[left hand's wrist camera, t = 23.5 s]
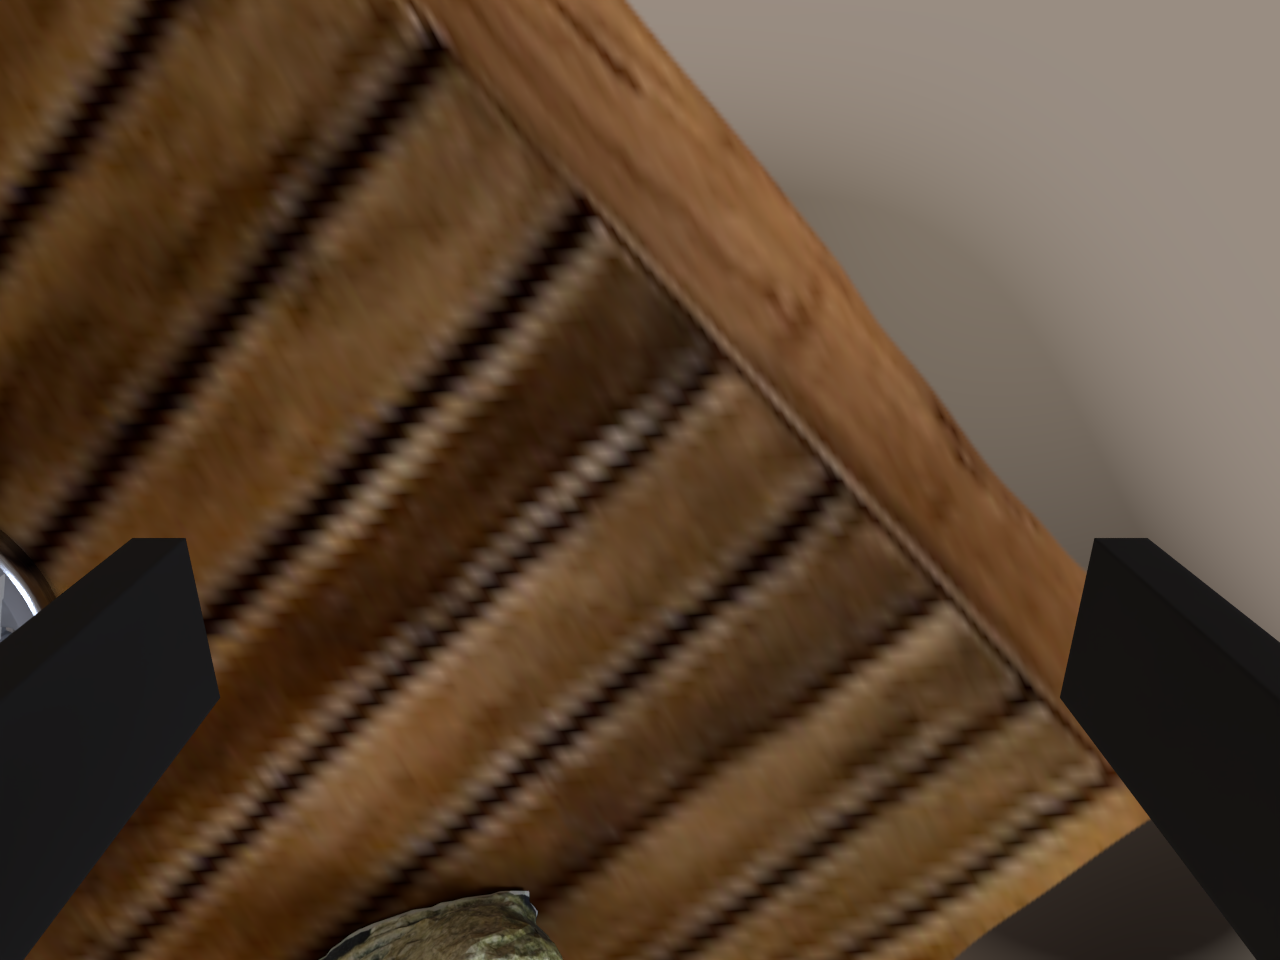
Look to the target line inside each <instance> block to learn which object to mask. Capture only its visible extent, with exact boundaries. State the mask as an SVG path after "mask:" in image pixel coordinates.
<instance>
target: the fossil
mask: <svg viewBox="0 0 1280 960" xmlns="http://www.w3.org/2000/svg"><path fill="white" fill-rule="evenodd" d="M537 912H538V911H537V910H536V909H535V907H534V906H533V905H532V904H531V903H530V902H529V891H500V892H496V893H493V894H489V895H481V896H474V897H466V898H461V899H458V900H454V901H449V902H442V903H439V904H437V905H435V906H433V907H430V908H423V909H416V910H411V911H408V912H405V913H402V914H400V915H397V916H394V917H391V918H388V919H385V920H382V921H379V922H376V923H374V924H371V925H369V926H367V927H364V928H362V929H359V930H358V931H356V932H354V933H352V934H351V935H349V936H348V937H346V938H345V939H344V940H343V941H342V942H340V943H339V944H338V945H336V946H335V947H333V948H332V949H331V950H330V951H329V953H328V954H327V955H326V956H325V957H323V958H321V959H320V960H563V959H562V956H561V954H560V953H559V951H558V949H557V947H556V946H555V944H554V943H553V942H552V941H551V940H550V938H549V936H548V935H547V934H546V933H545V932H543V931H542V930H541V929H540V928H539V927H538V926H537V925H536V917H537Z"/></svg>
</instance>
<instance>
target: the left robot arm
mask: <svg viewBox="0 0 1280 960" xmlns="http://www.w3.org/2000/svg"><path fill="white" fill-rule="evenodd" d="M219 698H220V695H219V691H218V686H217V681H216V677H215V672H214V667H213V663H212V658H211V654H210V649H209V644H208V640H207V635H206V630H205V626H204V621H203V617H202V612H201V607H200V603H199V598H198V594H197V589H196V584H195V580H194V575H193V570H192V566H191V561H190V557H189V552H188V547H187V543H186V538H132V539H131V540H130V541H128V542H127V543H126V544H124V545H123V546H122V547H121V548H119V549H118V550H117V551H116V552H114V553H113V554H112V555H111V556H109V557H108V558H107V559H105V560H104V561H103V562H102V563H100V564H99V565H98V566H97V567H95V568H94V569H93V570H91V571H90V572H89V573H88V574H86V575H85V576H84V577H83V578H81V579H80V580H79V581H78V582H76V583H75V584H74V585H72V586H71V587H70V588H69V589H67V590H66V591H65V592H64V593H62V594H61V595H60V596H59V597H57V598H56V597H55V595H54V593H53V591H52V589H51V588H50V586H49V584H48V582H47V581H46V579H45V578H44V576H43V575H42V573H41V572H40V570H39V569H38V568H37V567H36V565H35V564H34V563H33V561H32V560H31V559H30V558H29V557H28V556H27V555H26V553H25V552H24V551H23V550H22V549H21V548H20V547H19V546H18V545H17V544H16V543H15V542H14V541H13V540H12V539H11V538H10V537H8V536H7V535H6V534H5V533H4V532H2V531H1V530H0V960H24V958H25V957H26V956H27V954H28V953H29V952H30V950H31V949H32V948H33V946H34V945H35V944H36V942H37V941H38V940H39V938H40V937H41V936H42V934H43V933H44V932H45V930H46V929H47V928H48V926H49V925H50V924H51V922H52V921H53V920H54V918H55V917H56V916H57V914H58V913H59V912H60V910H61V909H62V908H63V906H64V905H65V904H66V902H67V901H68V900H69V898H70V897H71V896H72V894H73V893H74V892H75V890H76V889H77V888H78V886H79V885H80V884H81V882H82V881H83V880H84V878H85V877H86V876H87V874H88V873H89V872H90V870H91V869H92V868H93V866H94V865H95V864H96V862H97V861H98V860H99V858H100V857H101V856H102V854H103V853H104V852H105V850H106V849H107V848H108V846H109V845H110V844H111V842H112V841H113V840H114V838H115V837H116V836H117V834H118V833H119V832H120V830H121V829H122V828H123V826H124V825H125V824H126V822H127V821H128V820H129V818H130V817H131V816H132V814H133V813H134V812H135V810H136V809H137V808H138V806H139V805H140V804H141V802H142V801H143V800H144V798H145V797H146V796H147V794H148V793H149V792H150V790H151V789H152V788H153V786H154V785H155V784H156V782H157V781H158V780H159V778H160V777H161V776H162V774H163V773H164V772H165V770H166V769H167V768H168V766H169V765H170V764H171V762H172V761H173V760H174V758H175V757H176V756H177V754H178V753H179V752H180V750H181V749H182V748H183V746H184V745H185V744H186V742H187V741H188V740H189V738H190V737H191V736H192V734H193V733H194V732H195V730H196V729H197V728H198V726H199V725H200V724H201V722H202V721H203V720H204V718H205V717H206V716H207V714H208V713H209V712H210V710H211V709H212V708H213V706H214V705H215V704H216V702H217V701H218V700H219ZM1060 698H1061V700H1062V701H1063V702H1064V704H1065V705H1066V706H1067V708H1068V709H1069V710H1070V712H1071V713H1072V714H1073V716H1074V717H1075V718H1076V720H1077V721H1078V722H1079V724H1080V725H1081V726H1082V728H1083V729H1084V730H1085V732H1086V733H1087V734H1088V736H1089V737H1090V738H1091V740H1092V741H1093V742H1094V744H1095V745H1096V746H1097V748H1098V749H1099V750H1100V752H1101V753H1102V754H1103V756H1104V757H1105V758H1106V760H1107V761H1108V762H1109V764H1110V765H1111V766H1112V768H1113V769H1114V770H1115V772H1116V773H1117V774H1118V776H1119V777H1120V778H1121V780H1122V781H1123V782H1124V784H1125V785H1126V786H1127V788H1128V789H1129V790H1130V792H1131V793H1132V794H1133V796H1134V797H1135V798H1136V800H1137V801H1138V802H1139V804H1140V805H1141V806H1142V808H1143V809H1144V810H1145V812H1146V813H1147V814H1148V816H1149V817H1150V818H1151V820H1152V821H1153V822H1154V824H1155V825H1156V826H1157V828H1158V829H1159V830H1160V832H1161V833H1162V834H1163V836H1164V837H1165V838H1166V840H1167V841H1168V842H1169V844H1170V845H1171V846H1172V848H1173V849H1174V850H1175V852H1176V853H1177V854H1178V856H1179V857H1180V858H1181V860H1182V861H1183V862H1184V864H1185V865H1186V866H1187V868H1188V869H1189V870H1190V872H1191V873H1192V874H1193V876H1194V877H1195V878H1196V880H1197V881H1198V882H1199V884H1200V885H1201V886H1202V888H1203V889H1204V890H1205V892H1206V893H1207V894H1208V896H1209V897H1210V898H1211V900H1212V901H1213V902H1214V904H1215V905H1216V906H1217V908H1218V909H1219V910H1220V912H1221V913H1222V914H1223V916H1224V917H1225V918H1226V920H1227V921H1228V922H1229V924H1230V925H1231V926H1232V928H1233V929H1234V930H1235V932H1236V933H1237V934H1238V936H1239V937H1240V938H1241V940H1242V941H1243V942H1244V944H1245V945H1246V946H1247V948H1248V949H1249V950H1250V952H1251V953H1252V954H1253V956H1254V957H1255V958H1256V960H1280V642H1278V641H1277V640H1276V639H1275V638H1273V637H1272V636H1271V635H1270V634H1268V633H1267V632H1266V631H1265V630H1263V629H1262V628H1261V627H1259V626H1258V625H1257V624H1256V623H1254V622H1253V621H1252V620H1251V619H1249V618H1248V617H1247V616H1246V615H1244V614H1243V613H1242V612H1240V611H1239V610H1238V609H1237V608H1235V607H1234V606H1233V605H1232V604H1230V603H1229V602H1228V601H1227V600H1225V599H1224V598H1223V597H1221V596H1220V595H1219V594H1218V593H1216V592H1215V591H1214V590H1213V589H1211V588H1210V587H1209V586H1208V585H1206V584H1205V583H1204V582H1202V581H1201V580H1200V579H1199V578H1197V577H1196V576H1195V575H1194V574H1192V573H1191V572H1190V571H1188V570H1187V569H1186V568H1185V567H1183V566H1182V565H1181V564H1180V563H1178V562H1177V561H1176V560H1174V559H1173V558H1172V557H1171V556H1169V555H1168V554H1167V553H1166V552H1164V551H1163V550H1162V549H1161V548H1159V547H1158V546H1157V545H1156V544H1154V543H1153V542H1152V541H1150V540H1149V539H1148V538H1095V539H1094V543H1093V548H1092V552H1091V557H1090V561H1089V566H1088V570H1087V575H1086V580H1085V584H1084V589H1083V594H1082V598H1081V603H1080V607H1079V612H1078V617H1077V621H1076V626H1075V630H1074V635H1073V640H1072V644H1071V649H1070V654H1069V658H1068V663H1067V667H1066V672H1065V677H1064V681H1063V686H1062V691H1061V695H1060Z"/></svg>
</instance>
